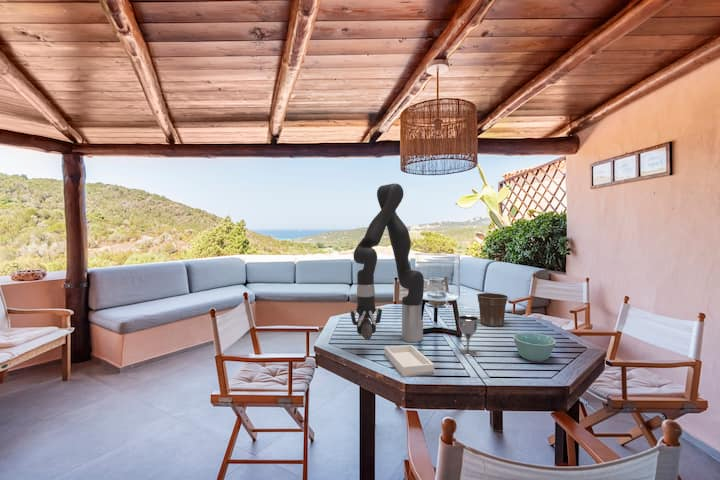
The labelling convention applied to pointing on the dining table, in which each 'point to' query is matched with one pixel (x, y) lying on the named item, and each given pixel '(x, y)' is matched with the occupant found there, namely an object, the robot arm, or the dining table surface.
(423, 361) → the tray
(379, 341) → the dining table surface
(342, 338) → the dining table surface
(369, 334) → the perforated stone tool
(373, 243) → the robot arm
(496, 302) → the plant pot
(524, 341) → the bowl
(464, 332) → the wine glass
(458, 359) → the dining table surface
